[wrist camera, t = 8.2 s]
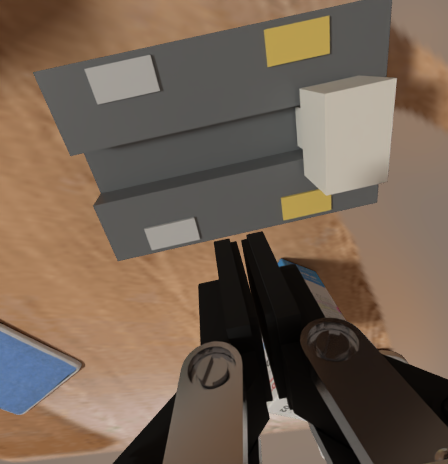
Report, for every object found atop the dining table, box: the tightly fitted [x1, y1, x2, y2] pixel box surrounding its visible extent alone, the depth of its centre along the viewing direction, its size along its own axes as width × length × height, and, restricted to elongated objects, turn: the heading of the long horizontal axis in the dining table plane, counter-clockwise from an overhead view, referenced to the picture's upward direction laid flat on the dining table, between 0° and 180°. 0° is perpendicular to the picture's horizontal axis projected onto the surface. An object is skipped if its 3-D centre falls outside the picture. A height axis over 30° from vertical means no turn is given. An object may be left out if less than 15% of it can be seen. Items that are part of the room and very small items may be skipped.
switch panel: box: [33, 0, 392, 261], centre depth 23 cm, size 14×22×4 cm, turn 101°
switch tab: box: [295, 75, 397, 196], centre depth 21 cm, size 6×4×7 cm, turn 11°
